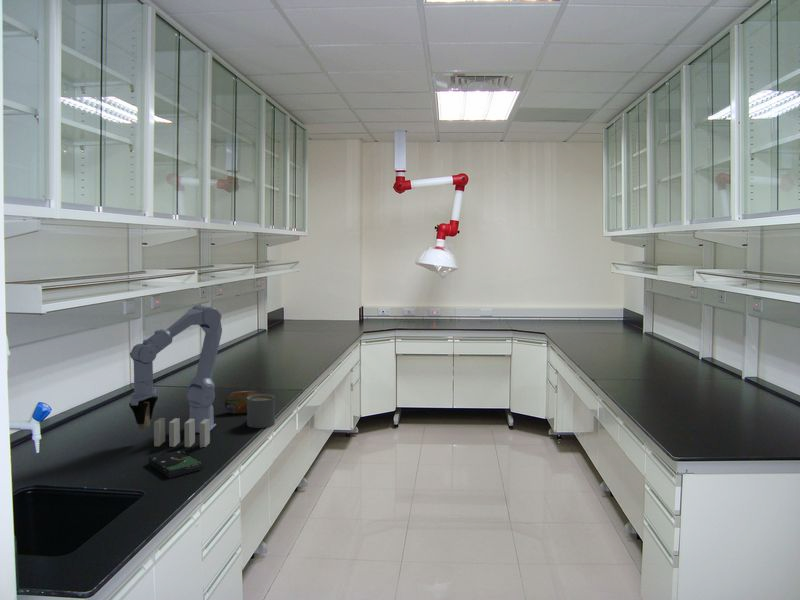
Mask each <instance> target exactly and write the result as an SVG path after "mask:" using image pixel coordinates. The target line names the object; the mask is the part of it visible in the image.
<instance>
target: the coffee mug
mask: <svg viewBox="0 0 800 600" xmlns="http://www.w3.org/2000/svg"><path fill="white" fill-rule="evenodd" d="M275 399H276V398H275V396H274V395H273V394H268V393H264V394H263V393H261V394H256V395H251V396H248V397H247V413H246V426H247V427H249V428H252V429H253V428H255V429H264V428H271V427H272V426H274V425H275V420H276V419H275V418H276V416H275V415H276V414H275V413H276V411H275V410H276V409H275V407H276V406H275V405H276V404H275Z"/></svg>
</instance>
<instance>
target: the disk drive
mask: <svg viewBox="0 0 800 600" xmlns="http://www.w3.org/2000/svg"><path fill="white" fill-rule="evenodd" d="M148 465H149V466H151V467H152V468H154V469H155V470H157V471H158V472H159V473H161V474H162V475H164V476H165V477H167V478H168V479H171V478H176V477H179V475H180V476H183V474H184V475H187V474H186V473H188V474H191V473H190V472H192V473H194V472H193V471H196V470H199V469H203V467H204V466H203V464H202V462H201V460H199V459H197V458H196V457H194V456H192V455H191V454H189V453H187V452H185V451H183V450H181V449H180V450H179V449H178V450H175V451H171V452H166V453H163V454H161V455H159V456H158V455H152V456H149V457H148ZM199 471H200V470H199ZM196 472H197V471H196Z"/></svg>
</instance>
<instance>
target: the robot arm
mask: <svg viewBox="0 0 800 600" xmlns="http://www.w3.org/2000/svg"><path fill="white" fill-rule="evenodd" d="M195 325H196V326H199V327H200V328H201V330H202V331H203V332H204V337H203V343H202V347H201V350H200V351H201V352H200V356H199V359H198V366H197V369H196V374H195V377H193V378H192V379H191V380H190V383H189V386H188V387H187V388H186V391H185V398H186V400H187V401H188V404H189V419H195V433H198V434H200V423H201V422H202V421H203V420H204V419H210V431H212V430H213V429H214V428H215V427H216V426H217V423H214V422H215V421H214V419H215V417H214V414H215V413H214V406H213V403H214V401H215V398H216V394H215V383H214V382H213V381H214V380H212V379H213V373H214V370H215V365H216V361H217V357H218V356H217V355H218V352H219V347H220V343H221V338H222V333H223V326H222V313H221V312H220V311H219V310H218V309H217V308H216V307H214V306H204V305H201V304H196V305H194V306H193V307H192V308H190V309H188V310H187V311H186V313H184V315H183V316H181V317H180V318H179V319H177V320H176V321H175V322H174V323H172V325H170V326H169V327H167V328H166V329H160V330H159V329H157V330H155V331H154V334H152V335H151V336H150V337H148V338H146V339H144V340H143V341H142V343H137V344H135V345H133V347H132V349H131V352H129V356H130V359H131V360H132V362H133V392H132V393H131V394H130V397H132V398H131V399H130V402H129V407H130V409H131V411H132V413H133V415H134V419H135V422H136V424H137V425H138V424H144V422H145V414H146V409H147V406H148V404H149V403H144V402H150V420H151V419H153V418H152V417H153V412H154V409H155V406H156V403H157V401H158V399H159V398H158V396H155V395H156V394H157V389H156V388H154V369H153V368H154V367H153V366H154V364H153V363H154V361H155V359H156V357H157V355H158V354H159V353H161V352H162V350H164V349H166V348H167V347H168V346H169V345H171V344H172V343H173V338H174V337H176V336H177V335H179V334H180V333H182V332H184V331H185V330H187V329H188V328H190V327H191V326H195Z"/></svg>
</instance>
